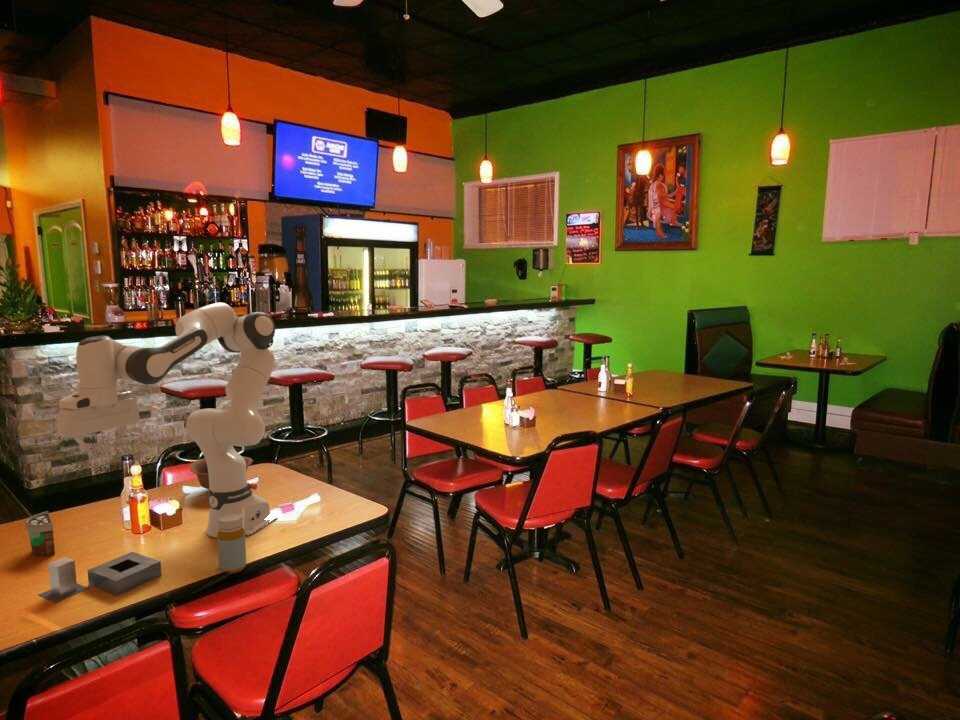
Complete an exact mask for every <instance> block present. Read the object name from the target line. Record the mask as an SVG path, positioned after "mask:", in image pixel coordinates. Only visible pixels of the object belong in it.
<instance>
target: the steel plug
mask: <svg viewBox="0 0 960 720" xmlns="http://www.w3.org/2000/svg"><path fill="white" fill-rule="evenodd" d="M48 572H49V582H50V590H51V593H52V594H54V595H57V596H59V597H62V596H64V595H67V594H69V593H71V592H73V591H76V590H77V584H78V582H77V572H76V561H75V559H72V558H70V557H67V556H64V557H62V558H61V557H60V558H59V559H56V560H53V561H50V562H48Z"/></svg>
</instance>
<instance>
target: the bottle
mask: <svg viewBox="0 0 960 720" xmlns="http://www.w3.org/2000/svg"><path fill="white" fill-rule="evenodd" d="M242 523H243V518H242V514H240V513H228V514H224V515H222V516H220V517H219V518H218V526H219V532H218V535H217V553H218V554H217V555H218V568H219V570H220V571H222V572H225V574H226V575H231V574H232V575H233V574H237V573H239V572H241V571H243V570H244V569H245V568H246V566H247V551H246V550H247V548H246V536H245V531H244V528H243V524H242Z"/></svg>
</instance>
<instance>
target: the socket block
mask: <svg viewBox="0 0 960 720" xmlns="http://www.w3.org/2000/svg"><path fill="white" fill-rule="evenodd" d="M161 576H162V563H161V560H158V559H154V558H153V557H152V558H151V557H150V556H146V555H143V554H140V553H138V552H134V551H131V552H128V553H126V554H123V555H121V556H118V557H116V558H114V559H112V560H108V561H106V562H103V563H101V564H99V565H97V566H94V567H91V568H90V569H87V581H88V582H87V583H88V586H90V587H93V588H96V589H97V590H101V591H103V592H105V593H108V594H111V595H113V596H115V597H120V596H122V595H123V594H125V593H127V592H130V591H132V590H134V589H136V588H138V587H141V586H143V585H145V584H147V583H149V582H151V581H153V580H156V579H157V578H159V577H161Z"/></svg>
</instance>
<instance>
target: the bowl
mask: <svg viewBox="0 0 960 720" xmlns="http://www.w3.org/2000/svg"><path fill="white" fill-rule="evenodd" d="M241 456H242V455H241ZM242 457H243V458H244V460H245V462H246V473H247V472H248V467H249V466H251V465H252V464H253V462H254V460H253V459H252V458H251V457H249V456H248V457H247V456H242ZM188 468H189V469H190V472H192V473H193V474H195V475H196V477H197V479H198V482H199V485H200V486H201V487H202V488H204V489H205V490H208V489H209V475H208V467H207V463H206V460H205V457H204V458H201V459H198V460H196V461H193V462H192V463H191V464H190V465H189V467H188Z"/></svg>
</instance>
